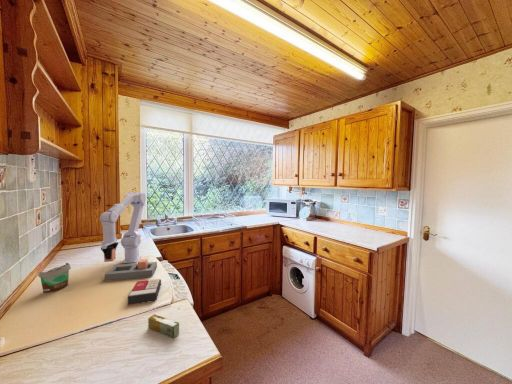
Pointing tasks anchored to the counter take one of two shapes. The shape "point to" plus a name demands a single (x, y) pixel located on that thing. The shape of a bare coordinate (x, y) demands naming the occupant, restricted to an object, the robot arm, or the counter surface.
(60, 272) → the food container
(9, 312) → the counter surface
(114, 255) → the plug
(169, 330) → the medication box
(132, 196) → the robot arm
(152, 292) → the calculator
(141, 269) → the dock
